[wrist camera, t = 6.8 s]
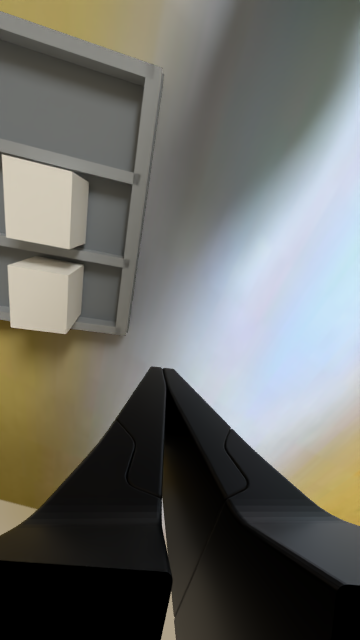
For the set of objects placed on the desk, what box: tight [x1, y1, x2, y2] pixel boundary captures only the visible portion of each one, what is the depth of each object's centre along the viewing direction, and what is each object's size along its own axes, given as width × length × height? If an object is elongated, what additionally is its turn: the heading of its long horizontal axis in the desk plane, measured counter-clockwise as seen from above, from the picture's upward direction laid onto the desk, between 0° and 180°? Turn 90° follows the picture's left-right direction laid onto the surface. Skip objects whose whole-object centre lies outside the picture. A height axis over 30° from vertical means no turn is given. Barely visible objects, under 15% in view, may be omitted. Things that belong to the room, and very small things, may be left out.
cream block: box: [8, 256, 84, 334], centre depth 15 cm, size 3×4×4 cm
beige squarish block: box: [2, 154, 89, 249], centre depth 13 cm, size 3×4×4 cm
